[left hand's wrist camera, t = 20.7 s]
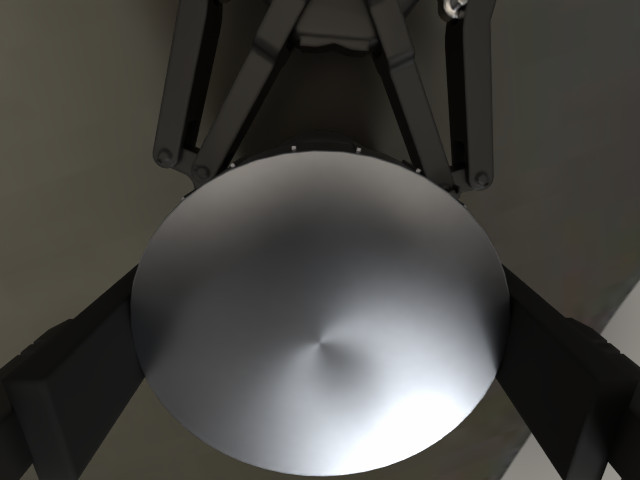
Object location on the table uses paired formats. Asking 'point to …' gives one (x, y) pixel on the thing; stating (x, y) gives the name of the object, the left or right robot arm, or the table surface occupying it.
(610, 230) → the table surface
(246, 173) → the lid
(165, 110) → the right robot arm
